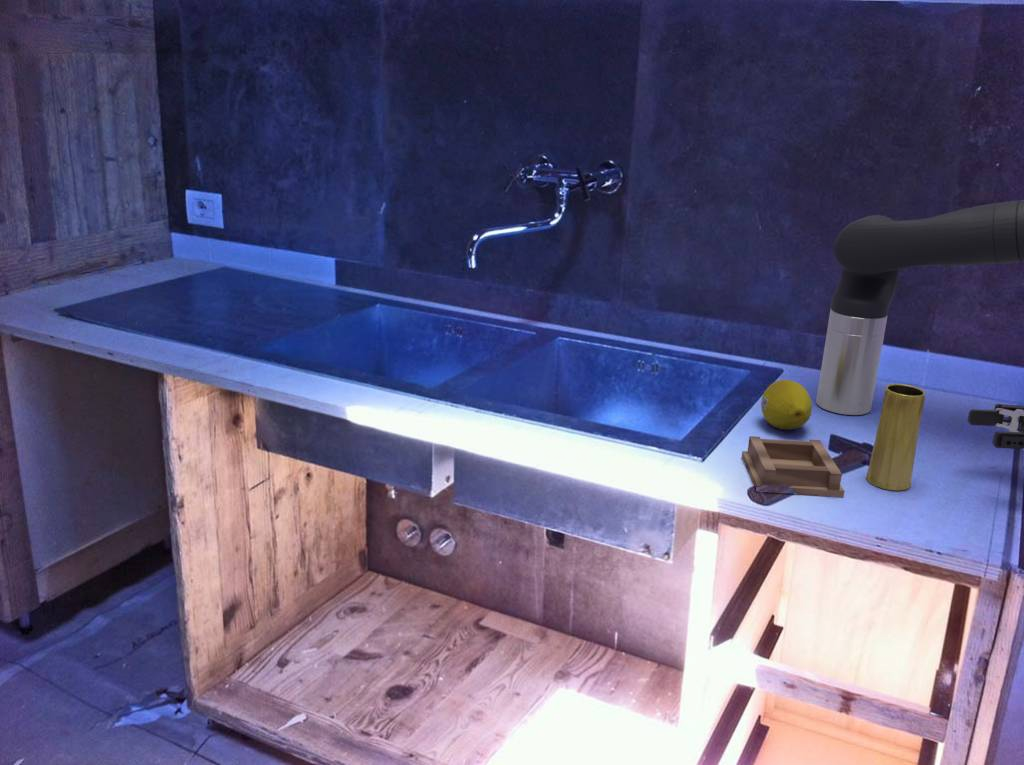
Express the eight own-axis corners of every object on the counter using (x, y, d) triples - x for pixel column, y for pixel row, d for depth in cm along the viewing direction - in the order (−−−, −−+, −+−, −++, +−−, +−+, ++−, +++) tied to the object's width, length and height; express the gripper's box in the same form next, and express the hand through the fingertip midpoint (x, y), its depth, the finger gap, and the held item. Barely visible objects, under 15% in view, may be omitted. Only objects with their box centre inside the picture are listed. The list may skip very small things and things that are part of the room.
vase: (910, 494, 132) (929, 400, 127) (864, 486, 134) (881, 392, 129) (910, 477, 137) (928, 386, 132) (866, 470, 139) (882, 379, 135)
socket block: (741, 457, 142) (744, 435, 141) (821, 461, 142) (825, 440, 140) (756, 492, 131) (759, 469, 130) (843, 497, 130) (847, 474, 129)
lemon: (755, 414, 160) (761, 370, 157) (802, 418, 159) (809, 373, 156) (762, 438, 149) (768, 391, 147) (812, 443, 148) (819, 396, 146)
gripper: (1079, 390, 137) (966, 386, 137) (1135, 426, 123) (1009, 421, 124) (1068, 438, 139) (956, 433, 140) (1121, 478, 126) (998, 473, 126)
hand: (981, 427), depth 132 cm, fingers open, 8 cm apart
